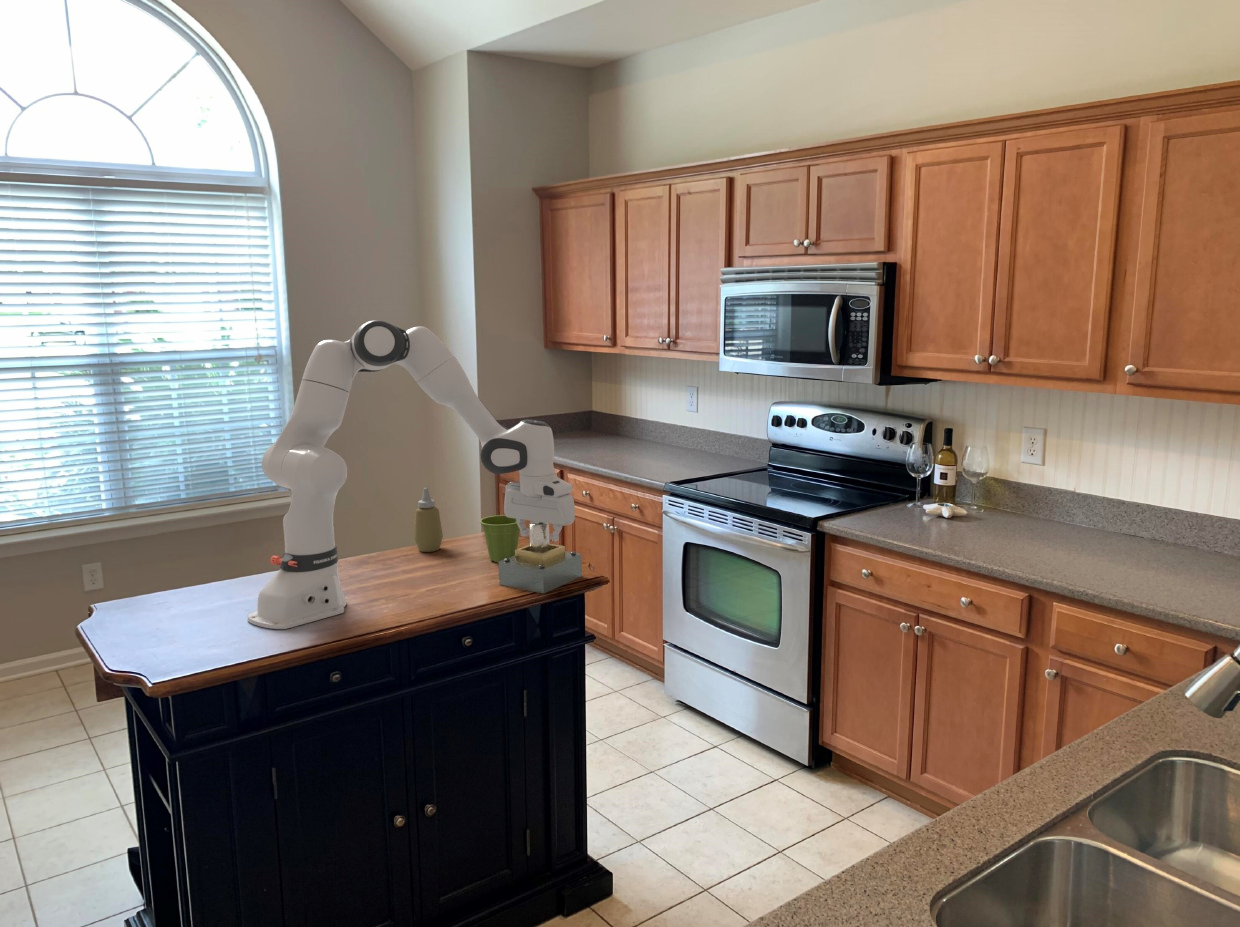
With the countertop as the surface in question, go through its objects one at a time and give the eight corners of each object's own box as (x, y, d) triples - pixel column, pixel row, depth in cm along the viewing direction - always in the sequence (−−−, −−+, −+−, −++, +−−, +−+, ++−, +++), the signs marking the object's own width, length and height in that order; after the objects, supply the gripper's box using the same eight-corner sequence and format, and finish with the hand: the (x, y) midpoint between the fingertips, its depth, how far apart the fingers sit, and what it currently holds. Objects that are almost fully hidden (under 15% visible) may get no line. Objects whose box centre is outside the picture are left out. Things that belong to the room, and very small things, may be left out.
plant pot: (531, 561, 258) (529, 521, 256) (489, 568, 253) (487, 527, 251) (516, 551, 269) (514, 512, 267) (475, 557, 264) (473, 517, 262)
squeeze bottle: (415, 554, 267) (412, 492, 264) (414, 547, 275) (410, 486, 272) (444, 552, 269) (441, 490, 266) (442, 544, 277) (438, 484, 274)
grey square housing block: (543, 593, 231) (542, 559, 229) (499, 584, 239) (498, 552, 237) (582, 576, 244) (581, 544, 243) (539, 568, 252) (537, 537, 250)
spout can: (541, 561, 237) (540, 518, 235) (526, 558, 240) (524, 516, 238) (553, 556, 241) (552, 514, 239) (538, 553, 244) (537, 512, 242)
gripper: (497, 482, 240) (499, 535, 242) (562, 490, 229) (564, 546, 231) (513, 478, 245) (515, 530, 248) (577, 486, 234) (579, 540, 236)
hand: (539, 538), depth 239 cm, fingers open, 8 cm apart
